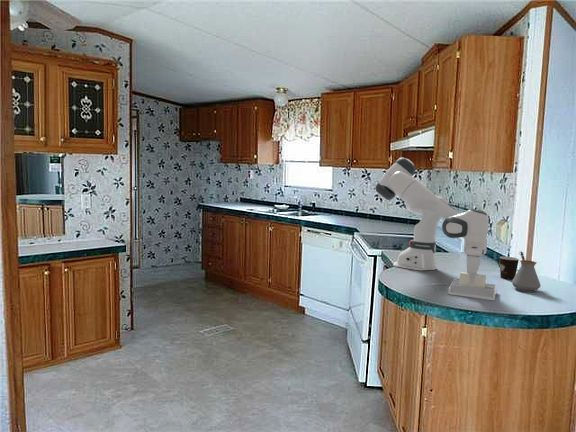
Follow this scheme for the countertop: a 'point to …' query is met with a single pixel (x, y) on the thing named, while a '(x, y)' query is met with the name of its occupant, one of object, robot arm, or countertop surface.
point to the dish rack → (473, 290)
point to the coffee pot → (526, 276)
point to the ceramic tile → (478, 282)
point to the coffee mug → (508, 267)
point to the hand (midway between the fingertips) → (472, 280)
